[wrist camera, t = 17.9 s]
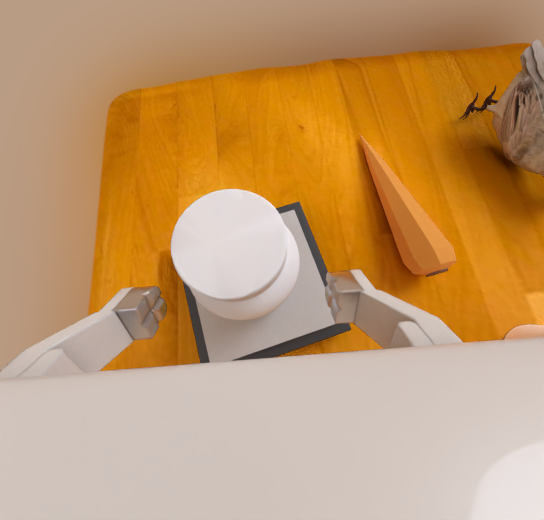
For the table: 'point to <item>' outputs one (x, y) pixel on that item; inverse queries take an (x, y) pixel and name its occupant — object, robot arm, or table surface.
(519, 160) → the decorative bird
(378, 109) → the table surface
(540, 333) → the cylindrical container
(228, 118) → the table surface
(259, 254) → the pill bottle
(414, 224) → the carrot
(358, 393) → the robot arm
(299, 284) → the scale
